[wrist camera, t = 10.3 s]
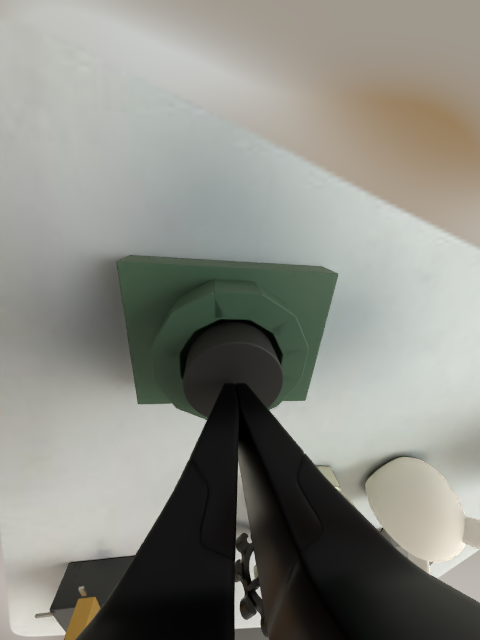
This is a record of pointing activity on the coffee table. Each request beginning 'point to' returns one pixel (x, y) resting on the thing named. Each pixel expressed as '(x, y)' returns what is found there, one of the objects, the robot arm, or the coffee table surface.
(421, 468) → the figurine
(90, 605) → the tap handle
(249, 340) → the button
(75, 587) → the panel
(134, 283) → the button box
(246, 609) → the valve
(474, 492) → the coffee table surface
